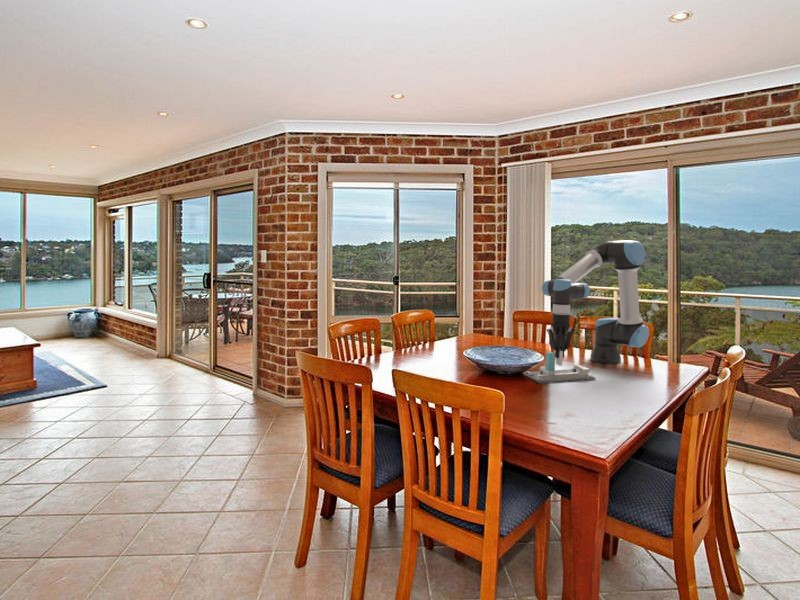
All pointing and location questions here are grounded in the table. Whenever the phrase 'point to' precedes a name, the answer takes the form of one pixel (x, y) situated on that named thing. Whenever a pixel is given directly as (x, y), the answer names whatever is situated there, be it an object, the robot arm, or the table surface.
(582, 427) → the table surface
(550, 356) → the sliding leg
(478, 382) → the table surface
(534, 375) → the bolt plate
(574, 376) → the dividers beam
